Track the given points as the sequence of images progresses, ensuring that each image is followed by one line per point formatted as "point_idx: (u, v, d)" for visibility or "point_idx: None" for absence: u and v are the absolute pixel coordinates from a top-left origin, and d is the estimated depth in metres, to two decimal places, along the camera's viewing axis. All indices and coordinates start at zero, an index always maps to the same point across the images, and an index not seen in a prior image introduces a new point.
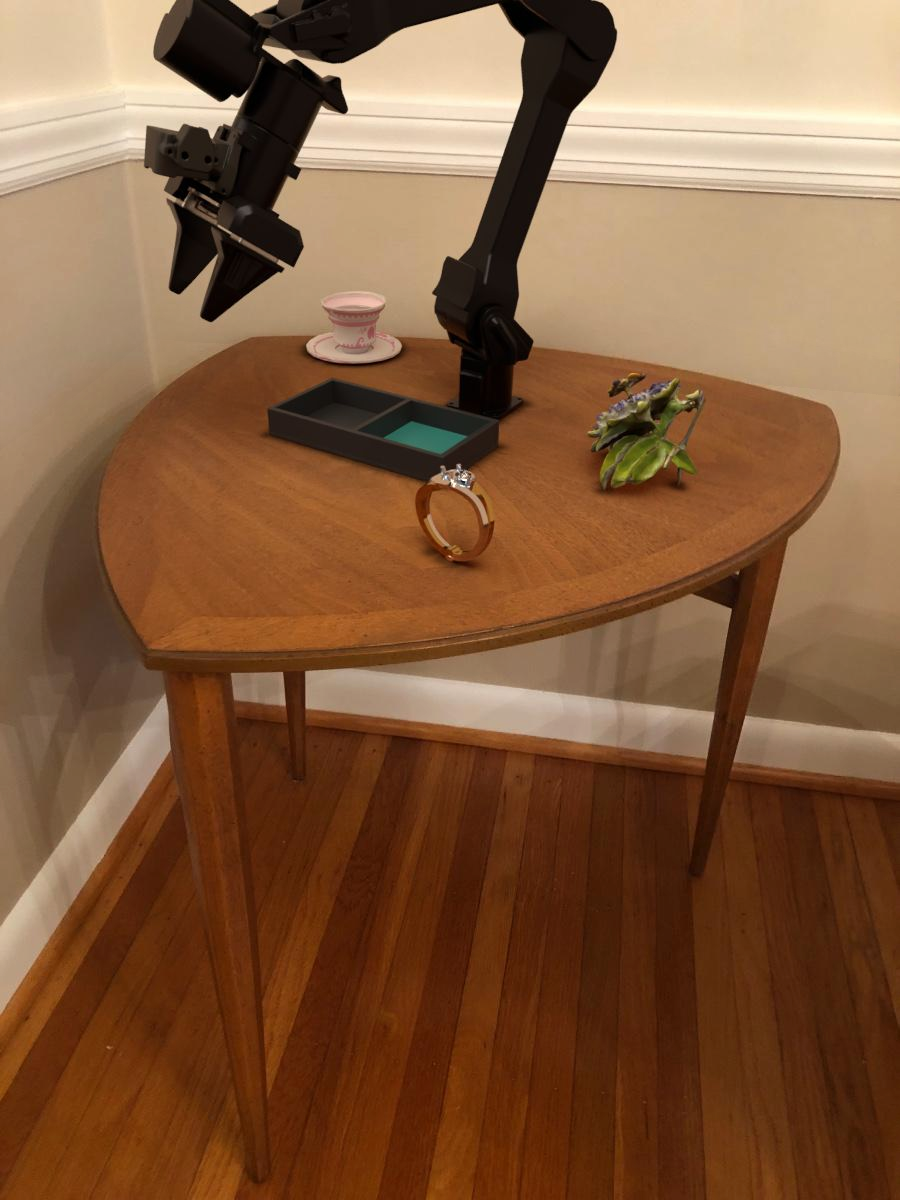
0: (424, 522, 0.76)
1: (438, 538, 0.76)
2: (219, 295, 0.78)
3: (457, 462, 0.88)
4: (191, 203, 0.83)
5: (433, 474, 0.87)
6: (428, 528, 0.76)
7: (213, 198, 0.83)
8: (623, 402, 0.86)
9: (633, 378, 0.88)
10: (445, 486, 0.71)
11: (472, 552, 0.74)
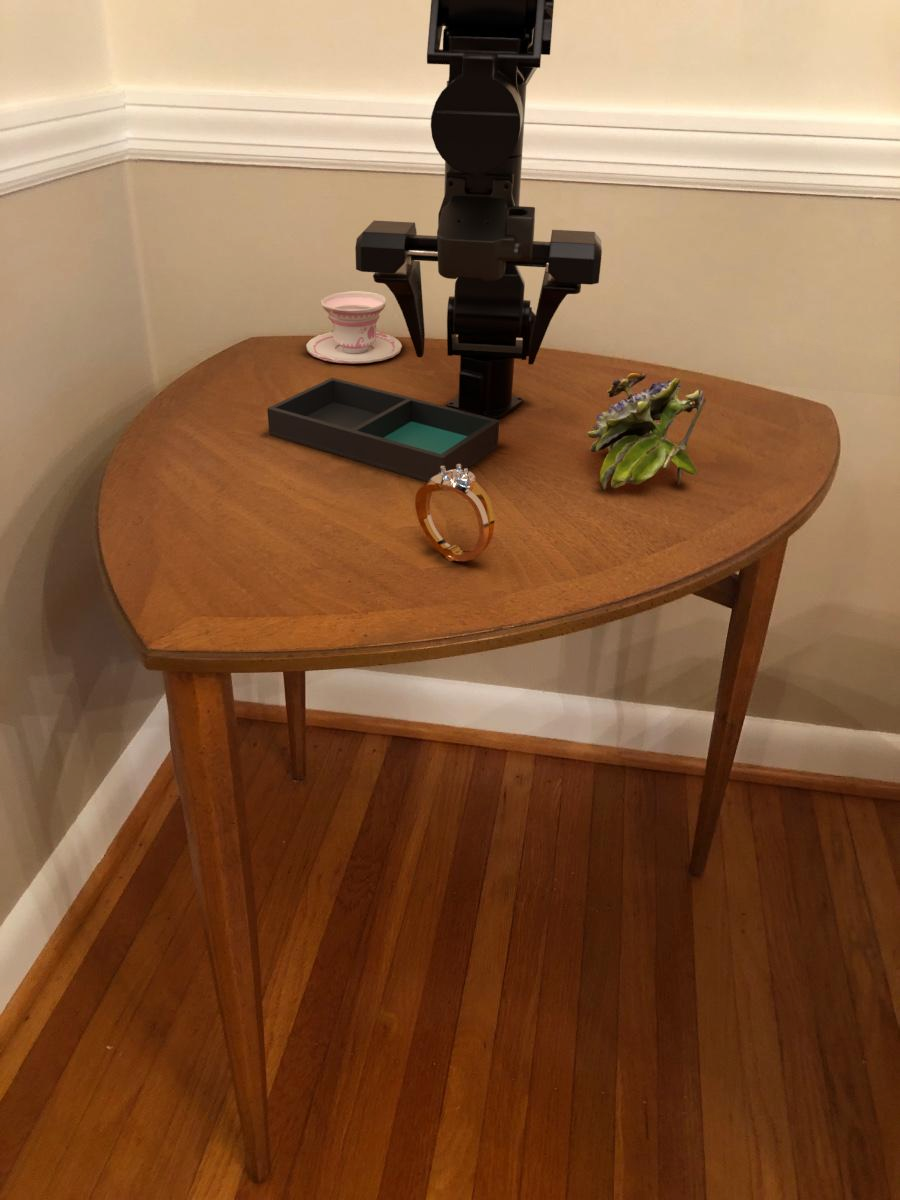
0: (424, 522, 0.76)
1: (438, 538, 0.76)
2: None
3: (457, 462, 0.88)
4: (407, 265, 0.73)
5: (433, 474, 0.87)
6: (428, 528, 0.76)
7: (429, 246, 0.73)
8: (623, 402, 0.86)
9: (633, 378, 0.88)
10: (445, 486, 0.71)
11: (472, 552, 0.74)
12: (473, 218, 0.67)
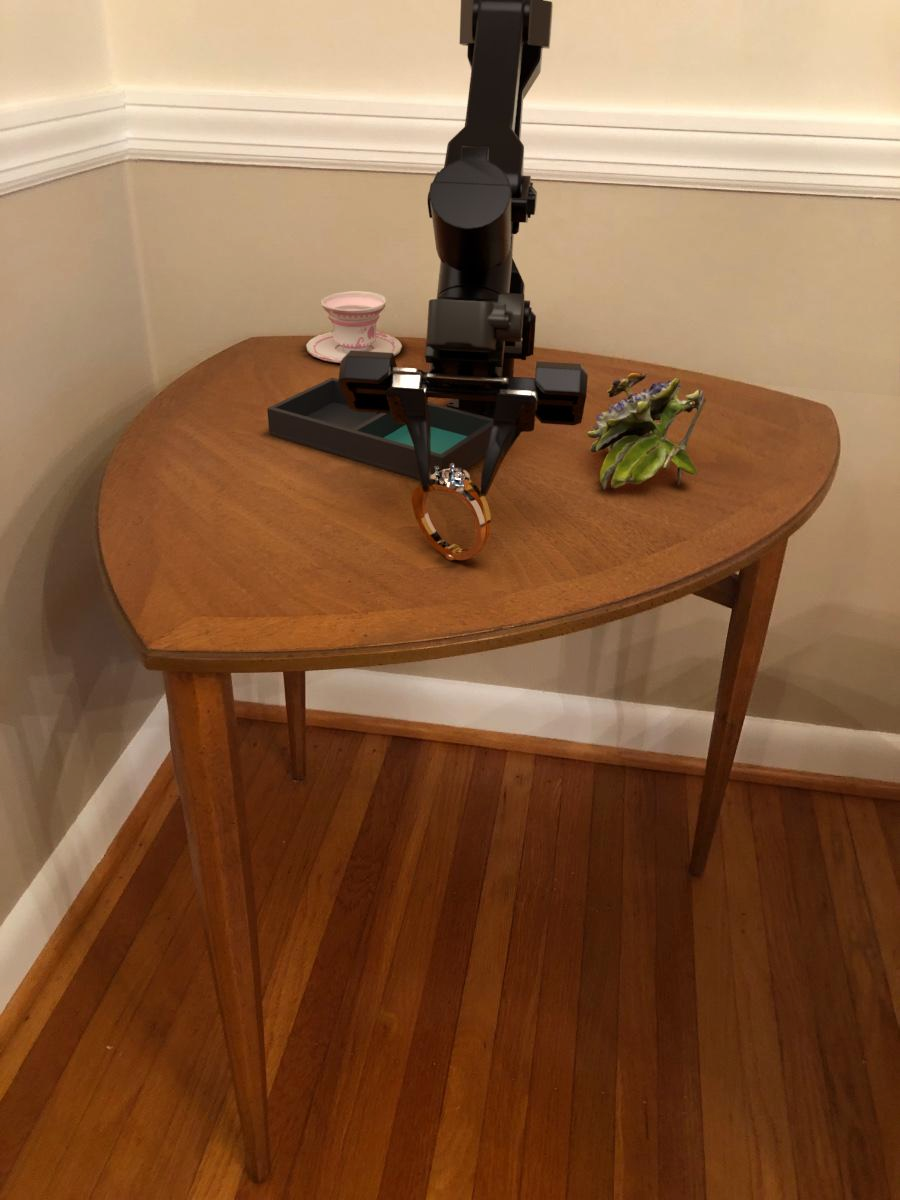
0: (422, 523, 0.76)
1: (437, 537, 0.76)
2: (497, 464, 0.71)
3: (457, 462, 0.88)
4: (421, 388, 0.72)
5: None
6: (426, 528, 0.76)
7: None
8: (623, 402, 0.86)
9: (633, 378, 0.88)
10: (439, 486, 0.71)
11: (471, 550, 0.74)
12: None
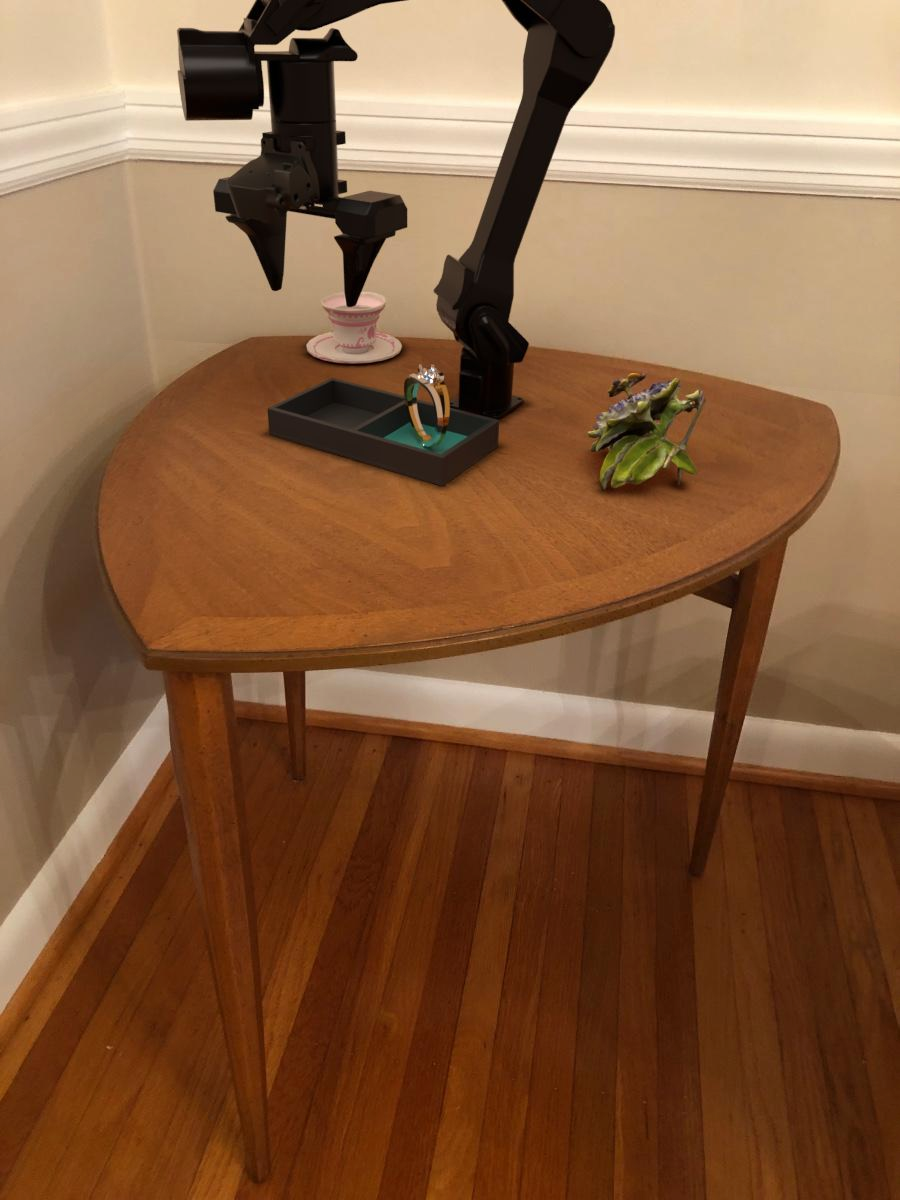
0: (409, 412, 0.94)
1: (418, 427, 0.94)
2: (357, 282, 0.88)
3: (457, 462, 0.88)
4: None
5: (433, 474, 0.87)
6: (412, 418, 0.94)
7: None
8: (623, 402, 0.86)
9: (633, 378, 0.88)
10: (414, 379, 0.89)
11: (432, 439, 0.90)
12: (262, 170, 0.81)
